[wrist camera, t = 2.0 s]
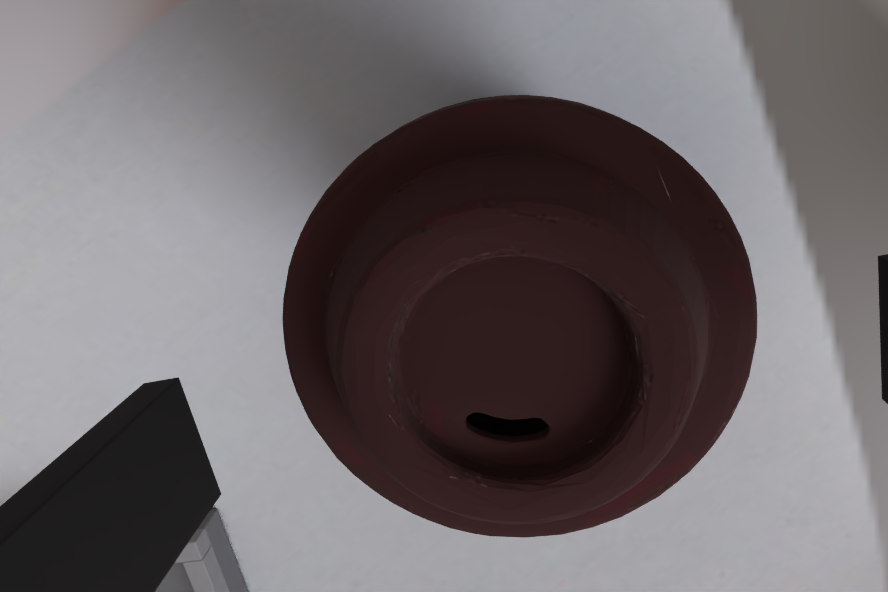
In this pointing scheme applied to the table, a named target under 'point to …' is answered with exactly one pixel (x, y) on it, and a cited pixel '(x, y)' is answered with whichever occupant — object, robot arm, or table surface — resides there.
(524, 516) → the coffee cup
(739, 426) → the table surface
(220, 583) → the coffee machine
